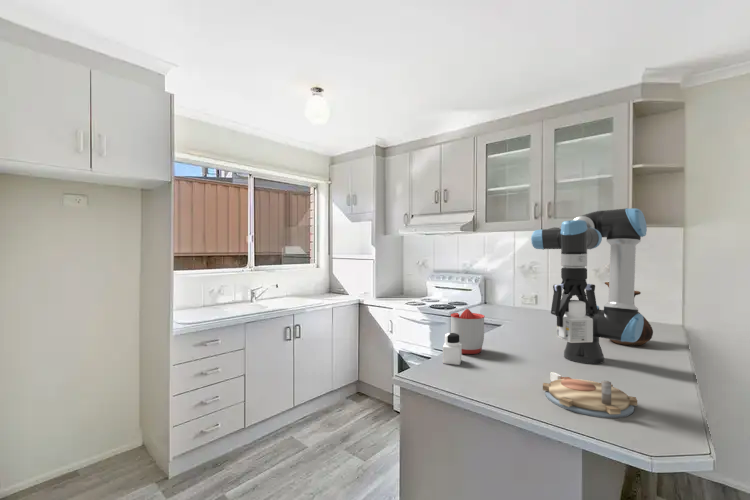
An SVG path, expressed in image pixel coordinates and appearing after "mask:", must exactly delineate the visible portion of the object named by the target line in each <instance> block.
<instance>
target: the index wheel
mask: <svg viewBox="0 0 750 500" xmlns="http://www.w3.org/2000/svg"><path fill="white" fill-rule="evenodd" d="M542 391H549V393H550V394H551V395H552V396H553V397H555V398H556V399H558V400H559V403H560V404H563V405H565V406H568V407H570V406H576V407H579V408H584V409H589V410H595V411H606V412H607V413H609V414H621V410H625V409H627V408H628V407H629V406H630V405H634V407H635V406H637V407H638V400H637V399H638V398H637V397H635V396H629V395H628V394H627V393H626V392H624V391H623V390H621V389H619V388H616V387H614V386H613V384H612V381H609V380H601V382H598V381H593V380H589V379H588V380H587V379H581V378H571V377H570V376H562V377H561V379H559V380H554V381H550V383H547V382H543V383H542Z"/></svg>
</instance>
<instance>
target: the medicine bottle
mask: <svg viewBox="0 0 750 500" xmlns="http://www.w3.org/2000/svg"><path fill="white" fill-rule="evenodd" d="M462 355H463V354H462V347H461V344H459V335H458V334H456V333H451V332H447V333H445V335H444V343H443V346H442V364H447V365H456V366H460V365H461V362H462V361H463V360H462Z"/></svg>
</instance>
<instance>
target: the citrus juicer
mask: <svg viewBox="0 0 750 500" xmlns="http://www.w3.org/2000/svg"><path fill="white" fill-rule="evenodd" d="M450 333H456V334H458V335H459V344H461V347H462V355H463V354H464V355H475V354H476V355H478V354H479V353H481V352H482V350H483V345H484V340H485V315H484V314H481V313H476V312H472V311H471V310H470V309H469V308H466V309H465V310H464V311H462V313H461V314H460V313H458V312H453V313H451V314H450Z"/></svg>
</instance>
